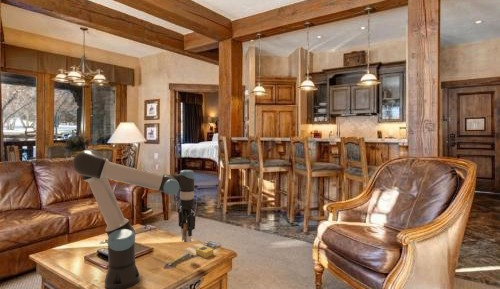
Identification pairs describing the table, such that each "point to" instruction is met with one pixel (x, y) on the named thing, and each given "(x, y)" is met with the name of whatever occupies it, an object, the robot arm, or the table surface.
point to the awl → (185, 231)
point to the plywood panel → (192, 250)
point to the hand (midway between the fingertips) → (186, 240)
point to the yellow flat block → (204, 251)
